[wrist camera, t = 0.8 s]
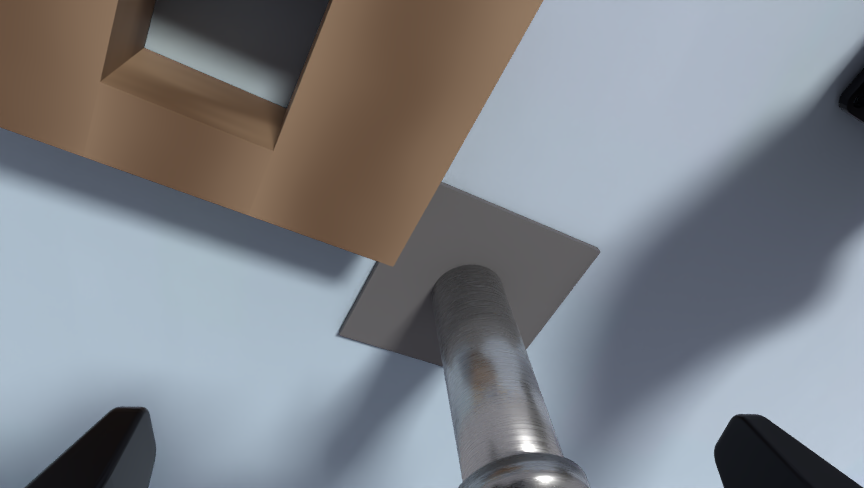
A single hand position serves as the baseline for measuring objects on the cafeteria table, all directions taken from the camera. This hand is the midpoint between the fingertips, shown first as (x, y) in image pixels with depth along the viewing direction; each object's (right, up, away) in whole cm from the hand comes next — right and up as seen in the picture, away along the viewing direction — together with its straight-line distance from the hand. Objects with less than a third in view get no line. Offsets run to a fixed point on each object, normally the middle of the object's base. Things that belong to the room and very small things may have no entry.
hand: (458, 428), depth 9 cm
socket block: (-6, +10, +8) cm, 14 cm away
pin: (+1, +1, +15) cm, 15 cm away
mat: (+1, +1, +15) cm, 15 cm away
